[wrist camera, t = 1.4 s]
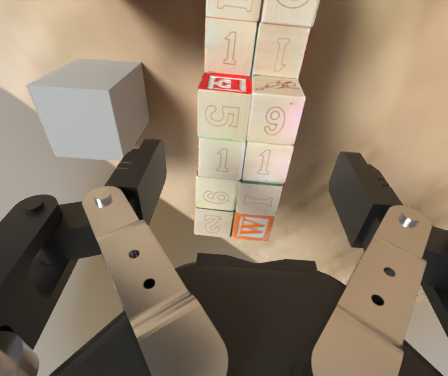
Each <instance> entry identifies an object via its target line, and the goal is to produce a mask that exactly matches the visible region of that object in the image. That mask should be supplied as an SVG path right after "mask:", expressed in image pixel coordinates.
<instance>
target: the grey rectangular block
mask: <svg viewBox="0 0 448 376" xmlns="http://www.w3.org/2000/svg"><path fill="white" fill-rule="evenodd" d="M26 86H27V88H28V91H29V93H30V96H31V98H32V101H33V103H34V106H35V108H36V111H37V113H38V115H39V118H40V120H41V123H42V125H43V128H44V130H45V133H46V135H47V138H48V140H49V142H50V145H51V147H52V150H53V152H54V155H55V156H56V157H70V158H85V159H101V160H115V161H121V160H122V158H123V157H124V155H125V154H127V153H128V152H130V151H131V150H132V148H133V147H134V145H135V144H136V142H137V141H138V139H139V137H140V136H141V134H142V133H143V131H144V130H145V128H146V127H147V125H148V123H149V122H150V119H149V112H148V105H147V98H146V91H145V83H144V76H143V69H142V62H129V61H111V60H94V59H78V60H76V61H74V62H72V63H70V64H68V65H66V66H64V67H62V68H60V69H58V70H56V71H54V72H52V73H50V74H48V75H46V76H44V77H42V78H40V79H38V80H36V81H34V82H32V83H30V84H28V85H26Z"/></svg>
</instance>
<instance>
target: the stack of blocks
mask: <svg viewBox="0 0 448 376" xmlns="http://www.w3.org/2000/svg"><path fill="white" fill-rule="evenodd" d="M319 3H320V0H206V19H205V55H204V70H205V73H204V74H203V76H202V79H201V81H200V84H199V87H198V125H197V135H198V137H199V143H198V170H197V174H196V200H195V205H196V206H195V217H194V234H196V235H206V236H216V237H223V238H229V237H230V236H231V237H232V238H235V239H245V240H256V241H268V239H269V235H270V232H271V228H272V224H273V221H274V216H275V215H276V213H277V209H278V205H279V201H280V197H281V193H282V189H283V183H284V182H285V181H286V178H287V174H288V170H289V166H290V162H291V158H292V154H293V150H294V143H295V140H296V136H297V132H298V128H299V124H300V120H301V117H302V113H303V108H304V104H305V101H306V97H305V95H304V92H303V90H302V88H301V86H300V83H299V81H298V79H299V76H300V72H301V68H302V64H303V60H304V56H305V51H306V47H307V44H308V40H309V36H310V31H311V28H312V27H313V26H314V22H315V18H316V14H317V10H318V7H319Z"/></svg>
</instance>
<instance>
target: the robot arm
mask: <svg viewBox="0 0 448 376" xmlns="http://www.w3.org/2000/svg"><path fill="white" fill-rule="evenodd" d="M165 180H166V162H165V153H164V144H163V141H162V140H155V139H145V140H144V141H143V143H142V145H141V146H140V148H139V149H133V150H131V151H130V152H128V153H127V154H125V155H124V157H123V158H122V160H121V161H120V163H119V164H118V166H117V169H115V171H114V172H113V174H112V175H111V177H110V178H109V180H108V181H107V183H106V184H105V186H104V187H99V188H96V189H93V190H92V191H90V192H88V193H87V194H86V195H85V196H84V198H83V200H82V201H81V202H75V203H69V204H62V205H59V204H58V202H57V200H56V198H55V197H53V196H51V195H36V196H32V197H29V198H26V199H24V200H22V201H20V202H19V203H18V204H16V205H15V206H14V207H13V208H12V209H11V210H10V212H9V213H8V214H7V215H6V216H5V217H4V218H3V219H2V221H1V222H0V376H37V372H38V369H39V359H38V356H37V355H36V353H35V352H34V351H33V349H34V347H35V345H36V343H37V341H38V339H39V337H40V335H41V333H42V331H43V329H44V327H45V325H46V323H47V321H48V319H49V317H50V315H51V313H52V311H53V309H54V307H55V305H56V303H57V301H58V299H59V297H60V295H61V293H62V291H63V289H64V287H65V285H66V283H67V281H68V279H69V277H70V275H71V273H72V271H73V269H74V267H75V265H76V263H77V261H78V259H79V258H85V257H90V256H94V255H99V254H101V255H102V257H103V260H104V262H105V265H106V267H107V270H108V272H109V274H110V277H111V280H112V282H113V285H114V287H115V290H116V292H117V295H118V298H119V300H120V303H121V305H122V308H123V310H124V311H123V312H122V313H120V314H119V315H118V316H117V317H116V318H115V319H113V320H112V321H111V322H110V323H109V324H108V325H107V326H106V327H104V328H103V329H102V330H101V331H100V332H98V333H97V334H96V335H95V336H94V337H93V338H92V339H90V340H89V341H88V342H87V343H86V344H85V345H83V346H82V347H81V348H80V349H79V350H78V351H76V352H75V353H74V354H73V355H72V356H71V357H70V358H69V359H67V360H66V361H65V362H64V363H63V364H61V366H59V367H58V368H57V369H56V370H55V371H53V372H52V373H51V374H50V375H49V376H443V375H442V374H441V373H440V372H439V371H438V370H437V369H435V368H434V367H433V366H432V365H431V364H430V363H429V362H428V361H427V360H426V359H425V358H424V357H422V355H421V354H419V353H418V352H417V351H416V350H415V349H414V348H413V347H412V346H411V345H410V344H409V343H408V342H406V341H405V340H404V337H405V333H406V330H407V326H408V323H409V320H410V316H411V313H412V310H413V307H414V303H415V300H416V297H417V293H418V290H419V287H420V284H421V286H422V288H423V290H424V292H425V294H426V296H427V298H428V299H429V301H430V303H431V305H432V307H433V309H434V311H435V313H436V315H437V317H438V319H439V321H440V323H441V325H442V327H443V329H444V331H445V333H446V335H447V337H448V231H447V230H444V229H440V228H436V227H433V226H432V225H431V222H430V220H429V219H428V218H427V217H426V216H425V215H424V214H422V213H421V212H419V211H417V210H415V209H413V208H411V207H407V206H403V204H402V203H401V201H400V200H399V199H398V197H397V196H396V194H395V193H394V191H393V190H392V188H391V187H389V184H388V183H387V181H385V178H384V177H383V176H382V174H381V173H380V171H378V170H377V169H376V168H374V167H373V166H372V165H370V164H367V163H366V161H365V160H364V158H363V157H362V155H361V154H360V153H355V152H341V153H340V154H339V156H338V158H337V161H336V164H335V167H334V170H333V173H332V175H331V178H330V182H329V192H330V195H331V197H332V200H333V202H334V205H335V207H336V210H337V212H338V215H339V218H340V220H341V223H342V225H343V228H344V230H345V233H346V235H347V238H348V240H349V243H350V245H351V247H356V248H363V249H364V253H363V255H362V257H361V258H360V260H359V262H358V264H357V266H356V267H355V269H354V271H353V273H352V275H351V277H350V278H349V280H348V282H347V284H346V286H345V285H344V284H343V283H341V282H340V281H338V280H337V279H335V278H333V277H331V276H329V275H327V274H325V273H322V272H320V271H317V267H316V263H315V261H306V260H291V259H284V260H277V261H271V262H265V263H252V262H249V261H245V260H242V259H238V258H235V257H231V256H228V255H219V254H204V253H198V255H197V261H196V262H192V263H188V264H185V265H182V266H180V267H177V268H175V269H174V267H173V266H172V264H171V263H170V261H169V259H168V258H167V256H166V254H165V253H164V251H163V250H162V248H161V246H160V245H159V243H158V241H157V240H156V238H155V236H154V235H153V233H152V232H151V230H150V228H149V227H148V226H149V223H150V221H151V218H152V215H153V213H154V210H155V207H156V205H157V202H158V199H159V197H160V194H161V191H162V189H163V186H164V183H165Z"/></svg>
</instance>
